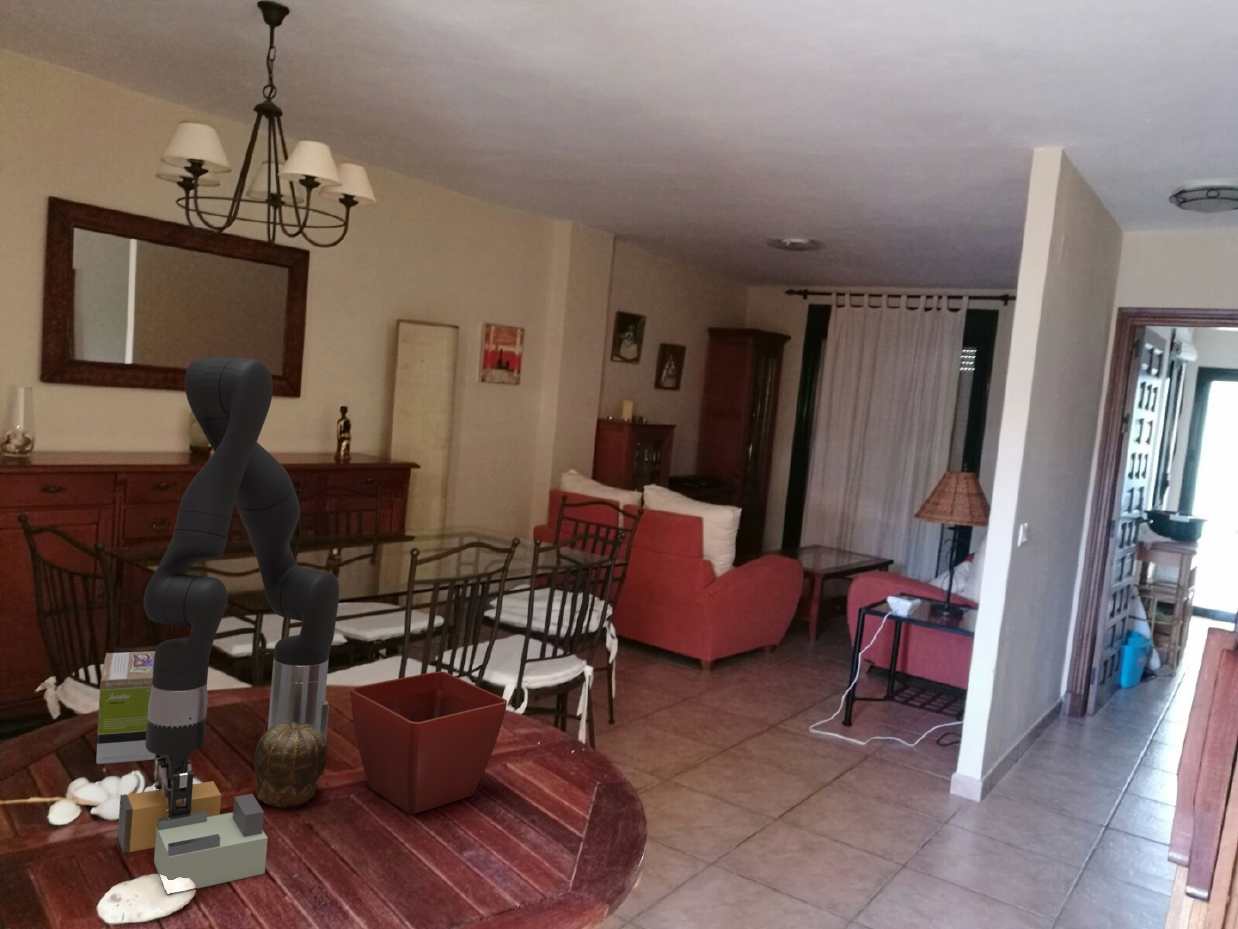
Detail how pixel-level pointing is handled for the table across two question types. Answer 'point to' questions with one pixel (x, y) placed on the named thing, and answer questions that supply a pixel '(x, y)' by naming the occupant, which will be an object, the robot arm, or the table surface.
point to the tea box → (124, 707)
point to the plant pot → (425, 737)
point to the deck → (213, 844)
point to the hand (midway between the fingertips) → (168, 826)
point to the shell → (289, 764)
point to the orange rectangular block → (157, 814)
